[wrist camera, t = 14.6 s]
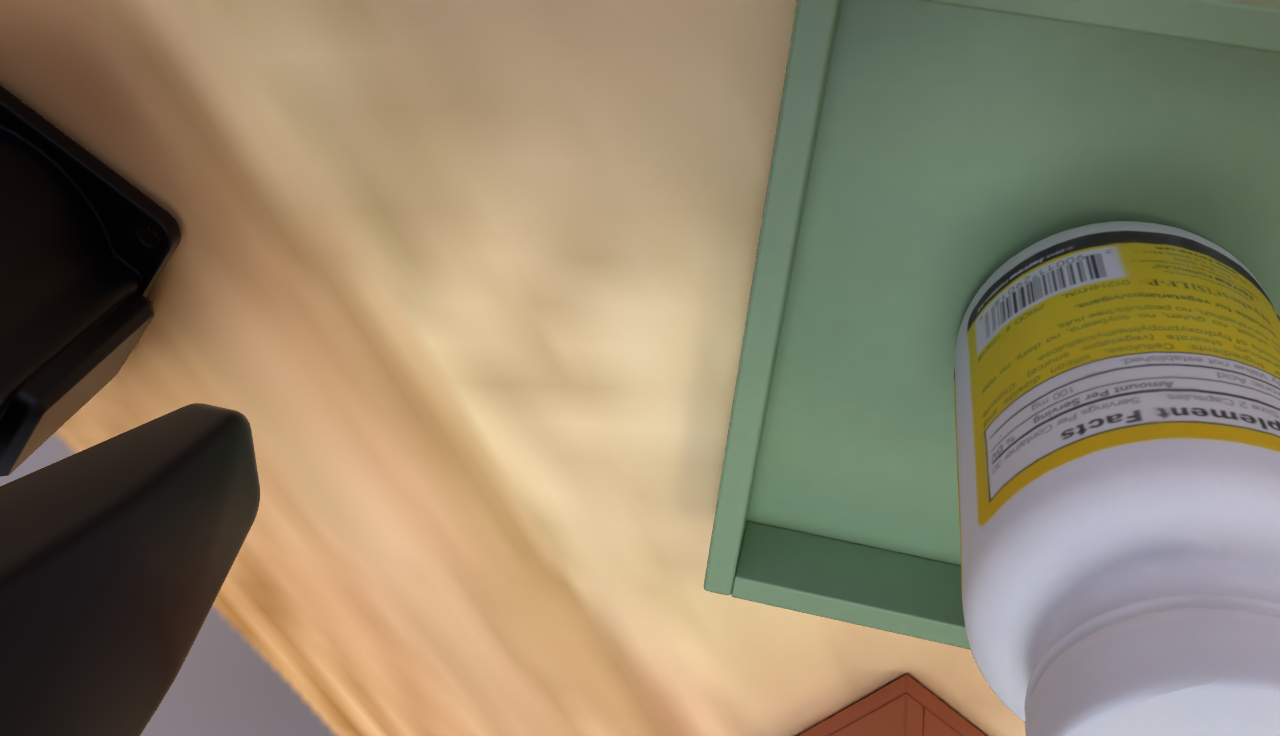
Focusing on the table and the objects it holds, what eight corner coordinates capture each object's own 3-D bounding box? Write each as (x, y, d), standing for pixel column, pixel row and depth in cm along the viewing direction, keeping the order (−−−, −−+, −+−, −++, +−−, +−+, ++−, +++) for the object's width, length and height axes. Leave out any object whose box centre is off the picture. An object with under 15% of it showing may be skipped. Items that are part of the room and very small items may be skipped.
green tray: (721, 516, 26) (702, 591, 24) (821, -95, 18) (806, -58, 16) (1334, 646, 24) (1368, 738, 22) (1731, 30, 16) (1838, 87, 14)
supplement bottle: (1199, 491, 22) (1344, 998, 14) (919, 425, 22) (907, 876, 14) (1336, 248, 19) (1625, 725, 11) (1007, 178, 19) (1051, 582, 11)
